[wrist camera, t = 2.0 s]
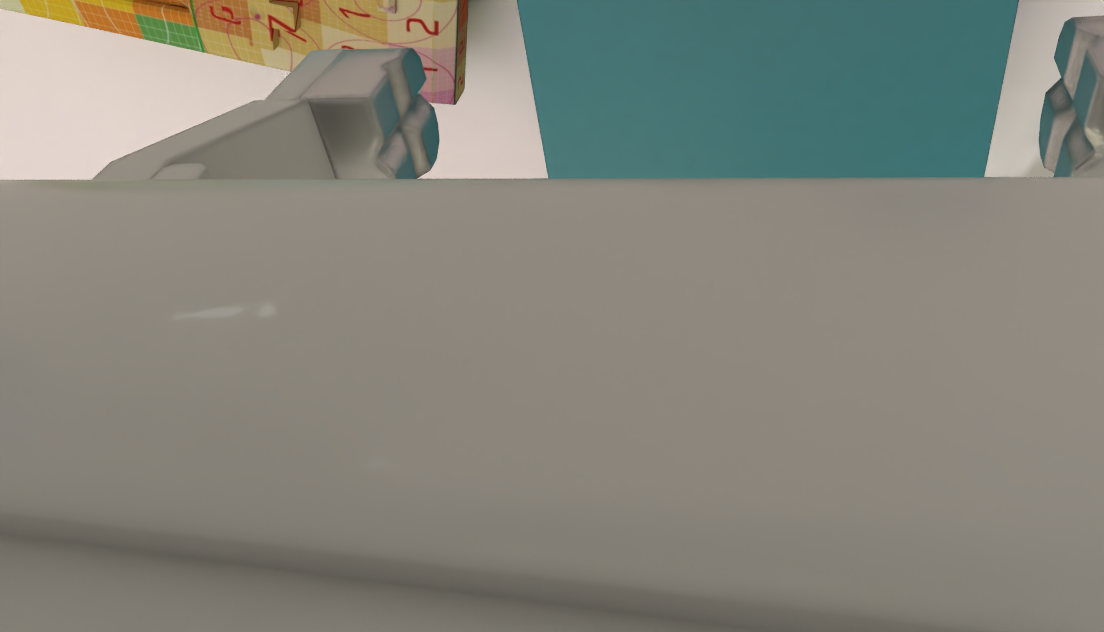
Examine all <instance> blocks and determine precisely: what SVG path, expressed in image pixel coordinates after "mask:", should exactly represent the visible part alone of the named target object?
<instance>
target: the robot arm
mask: <svg viewBox="0 0 1104 632" xmlns="http://www.w3.org/2000/svg"><path fill="white" fill-rule="evenodd" d="M1054 59H1055V62H1056V64H1057V67H1058V69H1059V72H1060V74H1061V77H1062V78H1061V79H1060V80H1059V81H1058V82H1057V83H1055V84H1054V85H1053V86H1052V87H1051V88H1050V89H1049V90H1048V91H1047V92H1046V94H1045V99H1044V104H1043V109H1042V114H1041V119H1040V132H1039V146H1040V156H1041V159H1042V162H1043V166H1044V168H1046V169H1048V170H1049V171H1051V172H1053V173H1054V177H884V178H545V179H417V178H418V177H420V176H422V175H424V174H425V173H427V172H429V171H430V170H431V168H432V166H433V165H434V163H435V161H436V159H437V153H438V146H439V131H438V122H437V118H436V114H435V110H434V107H433V106H432V105H431V104H430V103H429V102H428V101H427V100H426V99H425V98H424V97H423V96H422V95H421V94H420V93H421V91H422V89H423V86H424V84H425V82H426V75H425V72H424V68H423V65H422V61H421V58H420V56H419V55H418V54H417V52H416V51H415V50H414V49H413V48H389V49H350V50H348V49H346V48H343V49H328V50H314V51H310V52H309V54H308V55H307V56H306V57H305V58H304V59H303V60H302V61H301V62H300V63H299V64H298V65H297V66H296V67H295V68H294V69H293V70H292V72H291V73H290V74H289V75H288V76H287V77H286V78H285V79H284V80H283V81H282V82H281V83H280V84H279V85H278V86H277V87H276V88H275V89H274V91H273V92H272V93H271V94H270V95H269V96H268V97H267V98H266V99H265V100H257V101H253V102H250V103H248V104H246V105H243V106H241V107H239V108H236V109H234V110H232V111H229V112H227V113H225V114H222V115H220V116H217V117H215V118H213V119H210V120H208V121H206V122H203V123H201V124H199V125H196V126H194V127H192V128H189V129H187V130H185V131H182V132H180V133H178V134H175V135H173V136H171V137H168V138H166V139H164V140H161V141H159V142H157V143H154V144H152V145H149V146H147V147H145V148H142V149H140V150H138V151H135V152H133V153H131V154H128V155H126V156H124V157H121V158H119V159H117V160H114V161H112V162H110V163H109V164H108V165H107V166H106V167H105V168H104V169H103V170H102V171H100V172H99V173H98V174H97V175H96V176H95V177H94V178H93V179H92V180H0V632H1104V16H1089V17H1074V18H1071V19H1069V20H1068V21H1066V22H1065V23H1064V26H1063V28H1062V31H1061V33H1060V36H1059V39H1058V44H1057V48H1056V52H1055V56H1054Z"/></svg>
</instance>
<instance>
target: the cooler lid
mask: <svg viewBox="0 0 1104 632" xmlns="http://www.w3.org/2000/svg"><path fill="white" fill-rule="evenodd" d="M1018 3H1019V0H517V4H518V9H519V15H520V21H521V26H522V32H523V38H524V43H525V49H526V55H527V60H528V66H529V71H530V77H531V83H532V88H533V94H534V100H535V105H536V111H537V117H538V122H539V128H540V134H541V139H542V145H543V151H544V156H545V162H546V168H547V173H548V178H884V177H984V174H985V169H986V164H987V159H988V154H989V149H990V144H991V139H992V134H993V129H994V124H995V119H996V114H997V109H998V104H999V99H1000V94H1001V89H1002V84H1003V78H1004V73H1005V68H1006V63H1007V58H1008V53H1009V48H1010V43H1011V38H1012V33H1013V28H1014V23H1015V18H1016V13H1017V8H1018Z"/></svg>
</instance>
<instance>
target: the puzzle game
mask: <svg viewBox="0 0 1104 632" xmlns="http://www.w3.org/2000/svg"><path fill="white" fill-rule="evenodd" d="M0 8H1V9H6V10H11V11H15V12H20V13H25V14H30V15H34V16H39V17H44V18H48V19H53V20H58V21H63V22H67V23H72V24H77V25H81V26H86V27H91V28H96V29H100V30H105V31H109V32H114V33H118V34H123V35H127V36H132V37H136V38H141V39H145V40H150V41H154V42H159V43H164V44H168V45H173V46H177V47H182V48H186V49H191V50H195V51H200V52H204V53H209V54H213V55H218V56H222V57H227V58H232V59H236V60H241V61H245V62H250V63H254V64H259V65H263V66H268V67H272V68H277V69H281V70H286V71H290V72H292V70H293V69H294V68H295V67H296V66H297V65H298V64H299V63H300V62H301V61H302V60H303V59H304V58H305V57H306V56H307V55H308V54H309V52H310V51H314V50H328V49H343V48H346V49H348V50H350V49H389V48H413V49H414V50H415V51H416V52H417V54H418V55H419V56H420V58H421V61H422V65H423V68H424V72H425V75H426V82H425V84H424V86H423V89H422V91H421V93H420V94H421V95H422V96H423V97H424V98H425V99H426V100H427V101H428V102H431V103H441V104H453V105H456V103H457V101H458V99H459V98H460V96H461V94H462V93H463V91H464V88H465V65H466V42H467V19H468V0H0Z"/></svg>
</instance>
